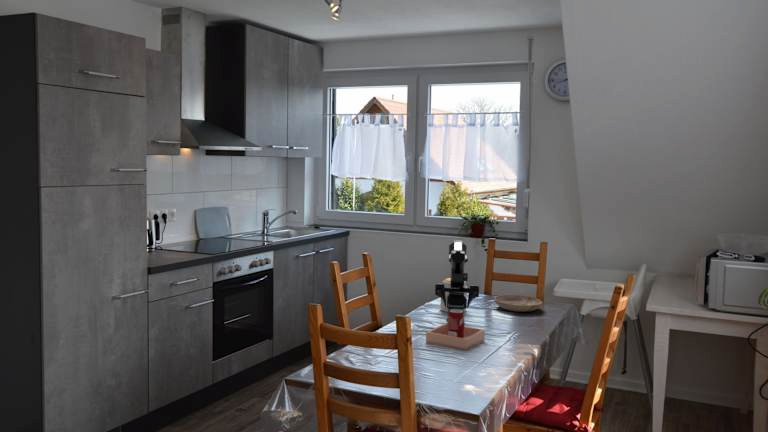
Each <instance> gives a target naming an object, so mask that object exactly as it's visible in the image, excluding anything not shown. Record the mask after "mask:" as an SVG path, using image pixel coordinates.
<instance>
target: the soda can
mask: <svg viewBox="0 0 768 432" xmlns="http://www.w3.org/2000/svg"><path fill="white" fill-rule="evenodd" d="M447 319H448V321H447V323H448V328H447V335H448V336H454V337H459V338H464V326H465V320H464V319H465V312H464V313H463V310H460V309H451V310H450V312H449V314H448V313H447Z"/></svg>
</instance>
